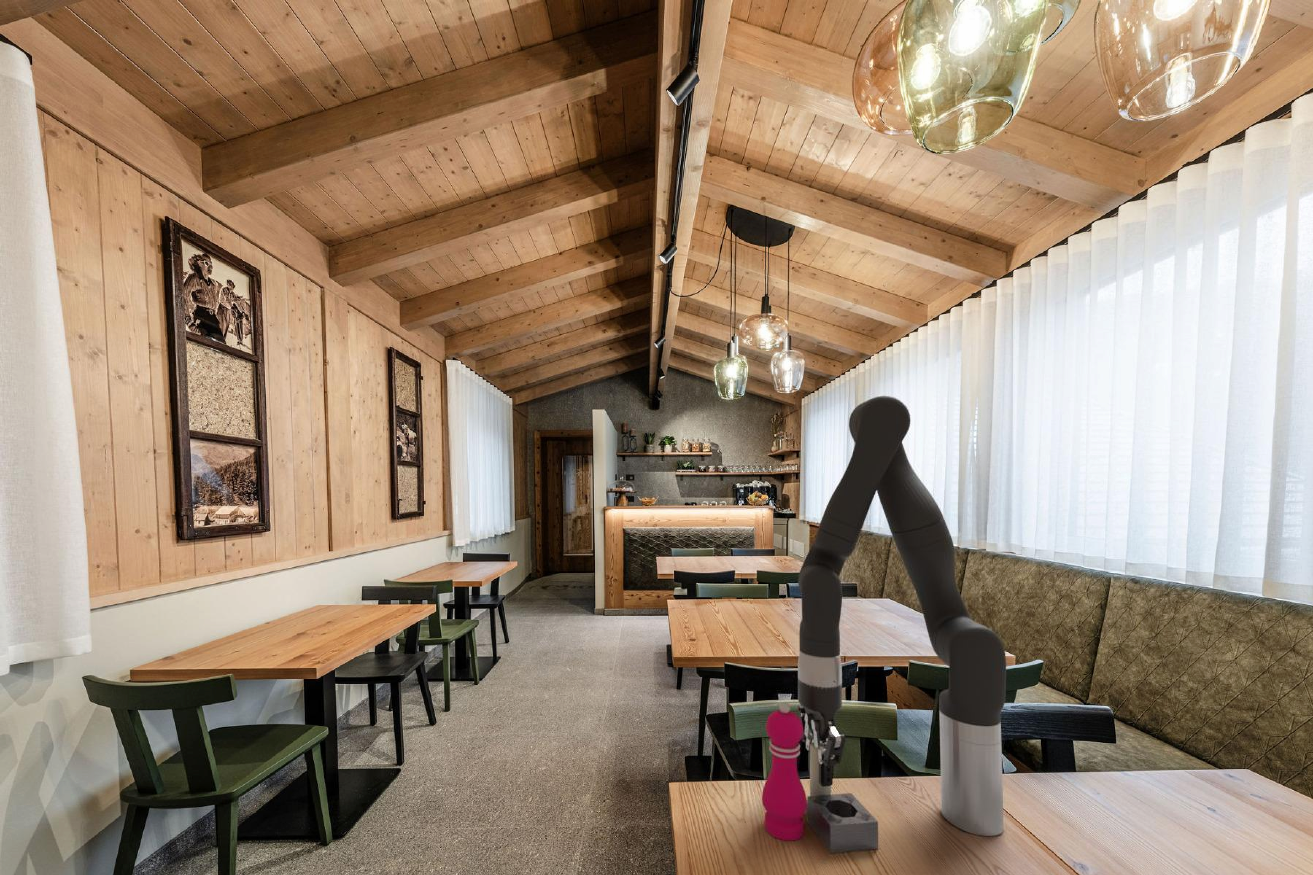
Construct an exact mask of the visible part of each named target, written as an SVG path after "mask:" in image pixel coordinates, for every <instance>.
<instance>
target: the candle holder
mask: <svg viewBox="0 0 1313 875" xmlns="http://www.w3.org/2000/svg"><path fill="white" fill-rule="evenodd" d="M806 799H807V810H806V813H807V815H806V819H807V820H806V822H807V821H808V822H807V823H808V825H809V824H810V825H809V826H810V827H811V829H812V828H813V829H814V830H813V829H812V830H813V832H814V833H815V834H816V836H817V835H818V836H819V837H818V836H817V837H818V838H819V840H820V839H821V840H820V841H821V842H822V844H823V845H824V846H825V848H826V849H827V851H828V853H830V854H839V853H849V852H859V851H868V850H869V851H871V850H878V849H879V821H878V820H877V819H876V818H875V817H874V816H873V814H871V812H870V811H869V810H867V808H866V807H865V806H864V805H863V804H862V803H861V802H860V800H858V799H857V798H856V797H855V795H854V794H853V793H852V792H849V793H848V792H847V793H845V792H844V793H834V794H832V793H831V795H819V796H810V795H809V796H808V795H806Z"/></svg>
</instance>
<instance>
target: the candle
mask: <svg viewBox="0 0 1313 875" xmlns="http://www.w3.org/2000/svg"><path fill="white" fill-rule="evenodd" d="M825 750H826V749H824V751H823V752H824V755H825ZM819 795H832V785H831V786H825V787H823V786H821V785H820V783H819V757H818V749H817V748H816V747H815V743H811V744H810V772H809V796H819Z"/></svg>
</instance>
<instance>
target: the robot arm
mask: <svg viewBox="0 0 1313 875" xmlns="http://www.w3.org/2000/svg"><path fill="white" fill-rule="evenodd" d="M910 426H911V414H910V412H909V409H908V407H907V405H906V404H905V402H903V401H902V400H901V399H899V398H897V397H894V396H892V395H891V396H890V395H880V396H875V397H872V398H870V399H868V400H865V401H863V402H862V403H860V404H858V405H857V406H855V408H854V409H853V410H852V412H851V414H850V416H849V420H848V429H849V433H850V435H851V438H852V440H853V442H854V447H853V451H852V455H851V457H850V459H849V462H848V465H847V467H846V469H845V471H844V474H843V475H842V477H841V479H840V481H839V482H838V484H837V486H836V488H835V490H834V491H833V493H832V494H831V496H830V498H829V501H828V503H827V505H826V508H825V510H824V513H823V514H822V517H821V520H820V523H819V526H818V529H817V530H816V534H815V537H814V538H815V539H814V541H813V543H812V545H811V546H810V548H809V551H808V552H807V555H806V557H805V558H804V561H803V563H802V566H801V567H800V568H801V569H800V570H799V573H798V578H797V584H798V587H799V589H800V593H801V594H800V595H801V597H800V598H801V618H802V619H801V621H800V624H799V634H798V635H799V636H798V637H799V642H798V643H799V645H798V646H799V647H798V648H799V651H798V652H799V653H798V658H797V659H798V660H797V701H798V703H799V705H797V712H798V715H797V716H798V717H799V719H800V720H801V722H802V726H803V736H802V739H801V741H802V742H803V743H805V749H806V750H807V751H808V752H807V753H808V755H807V757H808V758H807V761H808V762H807V764H808V765H807V766H808V768H807V769H808V772H809V773H810V744H811V743H815V747H816V748H817V749H818V757H819V783H820V785H821V786H823V787H825V786H831V787H832V786H833V783H834V781H833V780H834V779H833V778H834V776H833V775H834V774H833V773H834V772H833V770H834V769H833V768H834V767H833V766H837V765H838V766H839V765H840V764H841V762H842V757H843V754H844V753H843V752H844V748H845V743H846V736H845V734H843V733H840V734H839V732H838V730H837V722H836V716H835V715H836V713H837V712H838V711H840V710H841V709H842V707H843V678H842V677H843V672H842V671H843V670H842V660H841V639H840V638H841V633H840V632H841V631H840V622H841V614H842V606H843V587H842V581H841V580H840V579H841V578H840V575H841V572H842V570H843V568H844V565H845V563H846V560H847V558H849V557H850V556H851V555H852V554H853V552H854V550H855V549H856V546H857V543H858V542H859V541H858V540H859V538H860V535H861V532H862V530H863V527H864V524H865V521H866V519H867V515H868V513H869V512H870V511H869V510H870V507H871V506H872V502H873V500H874V498H875V495H876V493H877V496H878V498H879V503H880V504H881V508H882V510H883V513H884V516H885V518H886V521H887V525H888V528H889V530H890V533H891V535H892V537H893V541H894V543H895V545H896V546H895V547H896V548H897V551H898V553H899V555H900V557H901V559H902V562H903V565H904V568H905V570H906V573H907V575H908V577H909V579H910V582H911V584H912V586H913V588H914V590H915V591H914V592H915V593H916V595H917V598H918V601H919V604H920V608H921V611H922V612H921V613H922V615H923V618H924V622H925V626H926V630H927V634H928V638H929V641H930V644H931V647H932V650H933V651H934V653H935V654H936V656H937V657H938V658H939V659H940V661H942V662H943V663H944V664H945V665H947V666H948V667H949V668H948V669H949V670H948V672H949V674H948V689H944V690H942V691H941V692H940V694H939V698H938V701H939V702H938V704H939V705H938V706H939V708H938V709H939V740H940V741H939V746H940V749H939V751H940V755H939V756H940V798H941V799H940V802H941V803H940V804H941V805H940V806H941V808H940V809H941V815H942V816H943V818H945V819H946V821H948V822H949V823H950V824H951V825H953V826H954V827H956V828H958V829H960V830H962V831H965V832H967V833H970V834H973V835H978V836H985V837H986V836H987V837H994V836H998V835H1001V834H1002V833H1003V831H1004V828H1005V827H1004V789H1003V788H1004V786H1003V785H1004V784H1003V757H1002V754H1003V753H1002V749H1003V748H1002V728H1001V724H1002V723H1001V713H1002V710H1003V709H1004V706H1005V703H1006V695H1007V694H1006V693H1007V692H1006V690H1007V689H1006V688H1007V657H1006V650H1005V647H1004V644H1003V642H1002V640H1001V638H1000V637H999V635H998V634H997V633H996V632H995V631H994V630H992V629H990V628H989V627H987V626H985V625H983V624H981V623H979V622H976V621H974V619H973V618H972V616H971V615H970V613H969V611H968V609H967V607H966V605H965V602H964V601H963V598H962V596H961V593H960V591H959V588H958V585H957V580H956V552H955V551H956V550H955V546H954V541H953V538H952V535H951V532H950V530H949V527H948V524H947V521H946V520H945V518H944V515H943V513H942V511H941V508H940V507H939V506H938V503H937V501H936V500H935V499H934V497H933V495H932V493H931V492H930V491H929V490H928V488H927V487H926V486H925V484H924V483H923V482H922V480H921V479H920V478H919V476H918V475H917V474H916V472H915V470H914V468H913V467H912V465H911V463H910V461H909V459H908V456H907V454H906V453H907V452H906V450H905V446H904V444H903V441H904V439H905V438H906V435H907V434H908V432H909V429H910ZM824 749H826V750H825V755H824V752H823V751H824Z"/></svg>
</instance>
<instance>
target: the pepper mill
mask: <svg viewBox="0 0 1313 875" xmlns="http://www.w3.org/2000/svg"><path fill="white" fill-rule="evenodd" d="M778 706H779V707H778V710H775V711H773V712H771V713H770V714H769V716H768V717H767V719H766V720H767V721H766V724H765V730H766V733H767V735H768V737H769V738H770V739H769V742H768V744H769V747H768V749H769V752H770V753H771V757H772V758H771V760H772V762H771V767H770V772H769V774H768V777H767V779H766V781H765V783H764V786H763V789H762V794H761V802H762V805H763V808H764V810H765V813H764V827H765V830H766V831H767V833H769V835H771V836H772V837H774V838H776V839H778V840H782V841H788V842H789V841H796V840H799V839H800V838H802V837H803V836H804V833H805V820H804V815H805V814H806V813H807V795H806V791H805V788H804V787H803V784H802V781H801V779H800V776H799V774H798V773H799V772H798V765H797V764H798V762H797V761H798V757H799V756H800V754H801V751H800V750H801V749H800V748H801V745H800V743H799V742H800V741H802V736H803V726H802V722H801V720H800V719H799V715H797V714H795V713H794V712H792V711H791V706H790V704H789V703H788V702H786V701H782V702H781V703H780V704H779V705H778Z"/></svg>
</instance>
